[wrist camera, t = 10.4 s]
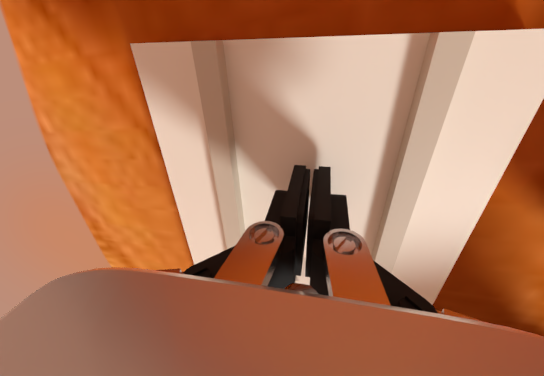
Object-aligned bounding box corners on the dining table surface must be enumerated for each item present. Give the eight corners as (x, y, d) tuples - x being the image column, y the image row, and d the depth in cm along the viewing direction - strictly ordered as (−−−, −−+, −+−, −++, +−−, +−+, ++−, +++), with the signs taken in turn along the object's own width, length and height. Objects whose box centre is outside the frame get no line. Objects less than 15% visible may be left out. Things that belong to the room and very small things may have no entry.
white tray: (163, 42, 12) (91, 44, 9) (526, 29, 9) (655, 23, 6) (224, 312, 25) (206, 360, 21) (389, 342, 22) (401, 404, 18)
